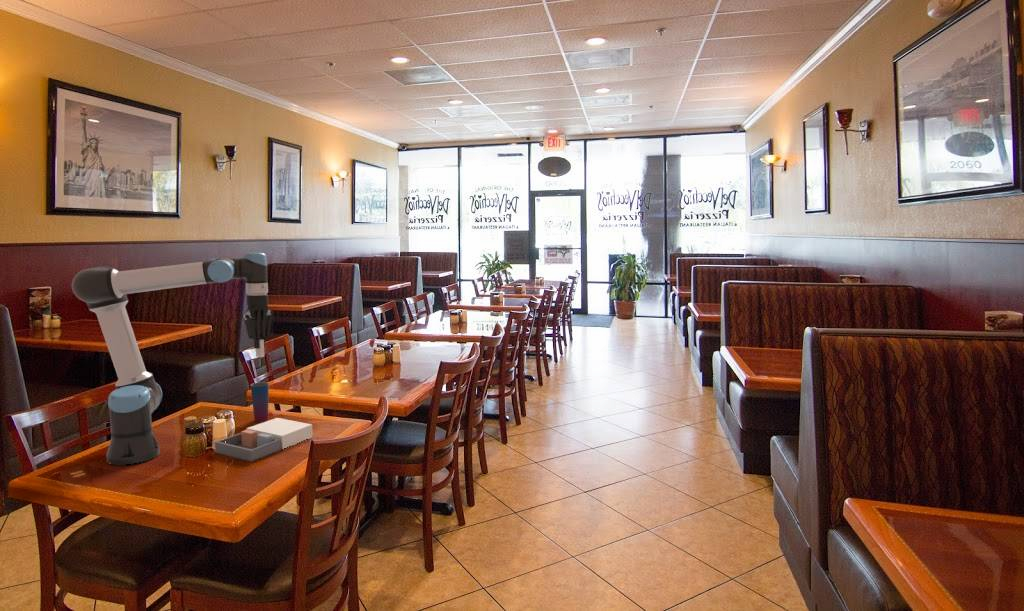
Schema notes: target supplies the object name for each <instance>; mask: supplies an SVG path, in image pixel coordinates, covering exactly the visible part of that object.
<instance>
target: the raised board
mask: <svg viewBox="0 0 1024 611" xmlns="http://www.w3.org/2000/svg"><path fill="white" fill-rule="evenodd" d="M246 430H252V431H256V432H257V435H259V434H261V433H265V434H270V435H273V438H275V439H280V449H281V450H282V449H283V450H285V449H284V448H286V449H287V447H288V448H290V447H289V446H291V447H292V445H293V446H296V445H298V444H300V443H302V442H301V441H303V440H305V441H307V440H306V439H308V440H309V439H312V437H313V435H314V434H313V424H312V423H308V422H307V423H306V422H301V421H297V420H291V419H286V418H281V417H275V418H272V419H268V420H267V421H264V422H259V423H258V424H254V425H253V426H249V427H246ZM299 442H300V443H299ZM303 442H304V441H303ZM297 443H298V444H297Z"/></svg>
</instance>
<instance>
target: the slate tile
mask: <svg viewBox="0 0 1024 611" xmlns="http://www.w3.org/2000/svg"><path fill="white" fill-rule="evenodd" d="M272 441H273V435H270V434H265V433H261V434H259V435H257V447H259V446H262V445H264V444H267V443H270V442H272Z"/></svg>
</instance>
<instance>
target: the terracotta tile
mask: <svg viewBox="0 0 1024 611" xmlns="http://www.w3.org/2000/svg"><path fill="white" fill-rule="evenodd" d="M240 433H241V439H242V445H243V446H248V447H254V446H257V432H256V431H252V430H247V429H245V430H241V431H240Z"/></svg>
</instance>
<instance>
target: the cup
mask: <svg viewBox="0 0 1024 611" xmlns="http://www.w3.org/2000/svg"><path fill="white" fill-rule="evenodd" d="M269 387H270V383H269V382H265V381H261V382H260V381H259V382H254V383H253V382H252V383H251V384H250V393H251V401H252V409H253V419H254V422H255V421H264V422H266V421H265V420H267V421H269V396H270V395H269V391H270V390H269V389H270V388H269Z"/></svg>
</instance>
